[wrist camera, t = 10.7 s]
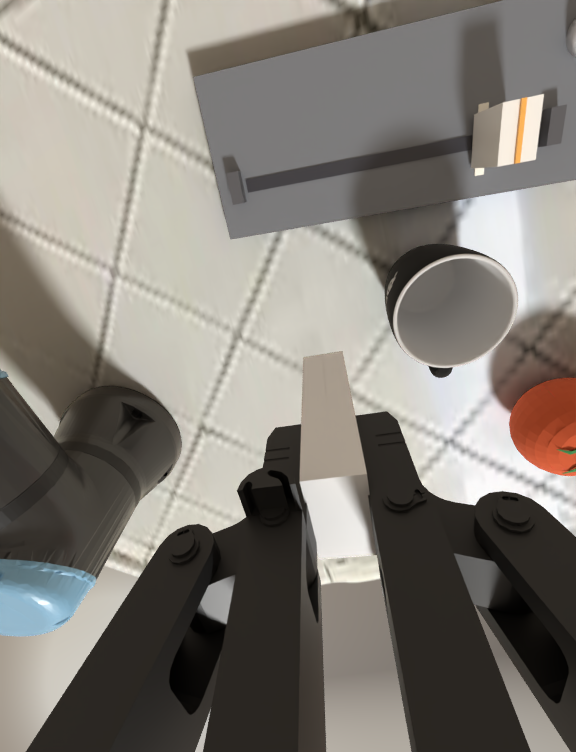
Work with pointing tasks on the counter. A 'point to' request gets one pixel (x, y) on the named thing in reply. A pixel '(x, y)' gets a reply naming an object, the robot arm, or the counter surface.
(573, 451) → the tomato
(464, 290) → the mug
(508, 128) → the fader tab
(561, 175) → the console
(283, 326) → the counter surface
